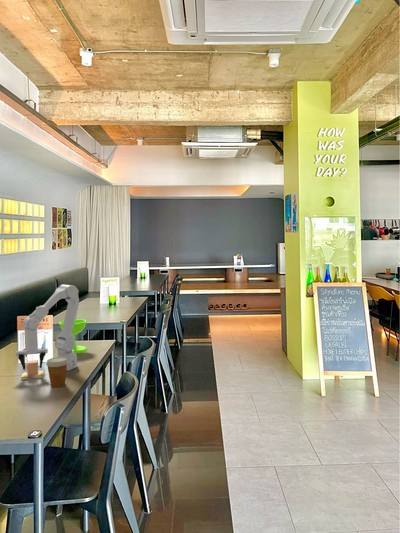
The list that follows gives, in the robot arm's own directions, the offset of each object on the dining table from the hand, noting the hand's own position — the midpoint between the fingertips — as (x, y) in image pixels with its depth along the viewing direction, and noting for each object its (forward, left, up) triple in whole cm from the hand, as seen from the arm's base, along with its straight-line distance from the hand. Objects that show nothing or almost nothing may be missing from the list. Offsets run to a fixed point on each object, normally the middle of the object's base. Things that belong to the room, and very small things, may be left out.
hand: (32, 368), depth 201 cm
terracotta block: (0, 0, -3) cm, 3 cm away
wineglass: (+14, -46, -4) cm, 48 cm away
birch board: (0, 0, -4) cm, 4 cm away
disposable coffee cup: (-20, +5, -4) cm, 21 cm away
